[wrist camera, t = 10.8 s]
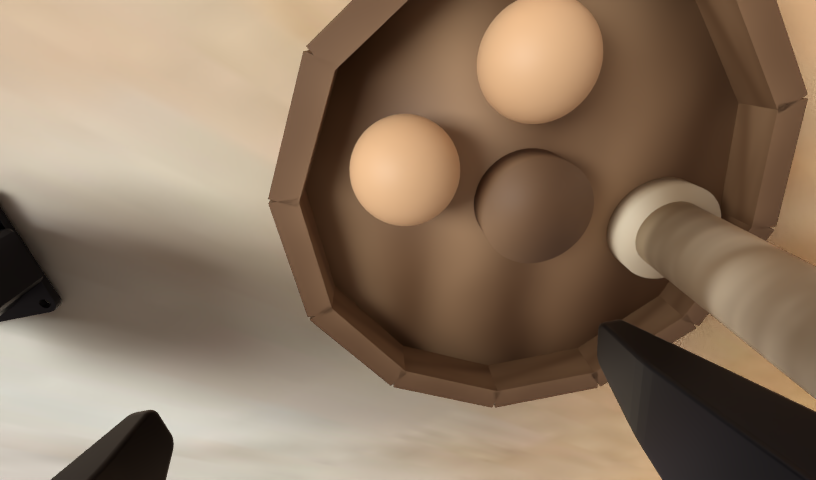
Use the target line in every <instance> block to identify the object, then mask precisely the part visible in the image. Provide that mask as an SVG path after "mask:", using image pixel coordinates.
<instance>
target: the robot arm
mask: <svg viewBox="0 0 816 480" xmlns="http://www.w3.org/2000/svg"><path fill="white" fill-rule="evenodd" d="M46 300H47V301H49V302H50V303H48V302H47V301H46ZM60 304H61V298H60V297H59V295H58V294H57V292H56V291H55V289H54V287H53V286H52V284H51V283H50V281H49V280H48V278H47V277H46V275H45V274H44V272H43V271H42V269H41V268H40V266H39V265H38V263H37V262H36V260H35V259H34V257H33V256H32V254H31V253H30V251H29V250H28V248H27V247H26V245H25V244H24V242H23V241H22V239H21V238H20V236H19V235H18V233H17V232H16V230H15V228H14V227H13V225H12V224H11V222H10V221H9V219H8V218H7V216H6V215H5V213H4V212H3V210H2V209H1V207H0V322H1V321H6V320H11V319H16V318H22V317H27V316H32V315H37V314H42V313H47V312H51V311H54V310H55V309H56V308H57V307H58V306H59V305H60ZM597 358H598V362H599V365H600V367H601V369H602V371H603V373H604V375H605V377H606V379H607V381H608V383H609V385H610V387H611V389H612V391H613V393H614V395H615V397H616V399H617V401H618V403H619V405H620V407H621V409H622V411H623V413H624V415H625V417H626V419H627V421H628V423H629V425H630V427H631V429H632V431H633V433H634V435H635V437H636V438H637V440H638V442H639V443H640V445H641V447H642V448H643V450H644V451H645V453H646V455H647V456H648V458H649V459H650V461H651V463H652V464H653V466H654V467H655V469H656V470H657V472H658V474H659V475H660V477H661V478H662V480H816V412H815V411H813V410H811V409H809V408H807V407H805V406H803V405H801V404H798V403H796V402H794V401H792V400H790V399H788V398H786V397H784V396H782V395H780V394H777V393H775V392H773V391H771V390H769V389H767V388H765V387H763V386H761V385H758V384H756V383H754V382H752V381H750V380H748V379H746V378H744V377H742V376H739V375H737V374H735V373H733V372H731V371H729V370H727V369H725V368H723V367H721V366H718V365H716V364H714V363H712V362H710V361H708V360H706V359H704V358H702V357H699V356H697V355H695V354H693V353H691V352H689V351H687V350H685V349H683V348H681V347H678V346H676V345H674V344H672V343H670V342H668V341H666V340H664V339H662V338H659V337H657V336H655V335H653V334H651V333H649V332H647V331H645V330H643V329H641V328H638V327H636V326H634V325H632V324H630V323H628V322H626V321H623V320H612V321H607V322H603V323H601V324H600V325H599V327H598V341H597ZM173 445H174V443H173V437H172V435H171V433H170V432H169V430H168V428H167V427H166V425H165V424H164V422H163V420H162V419H161V417H160V416H159V414H158V413H157V412H156V411H154V410H146V411H141V412H136V413H133V414H130V415H129V416H127V417H126V418H125V419H124V420H123V421H121V422H120V423H119V424H118V425H116V426H115V427H114V428H113V429H112V430H110V431H109V432H108V433H107V434H106V435H104V436H103V437H102V438H101V439H100V440H98V441H97V442H96V443H95V444H93V445H92V446H91V447H90V448H89V449H87V450H86V451H85V452H84V453H83V454H81V455H80V456H79V457H78V458H77V459H75V460H74V461H73V462H72V463H70V464H69V465H68V466H67V467H66V468H64V469H63V470H62V471H61V472H60V473H58V474H57V475H56V476H55V477H53V478H52V479H51V480H166V477H167V473H168V469H169V464H170V460H171V456H172V452H173Z"/></svg>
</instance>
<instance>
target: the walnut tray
mask: <svg viewBox="0 0 816 480" xmlns="http://www.w3.org/2000/svg"><path fill="white" fill-rule="evenodd" d="M515 1H516V0H352V1H351V2H350V3H349V4H348V5H347V6H346V7H345V8H344V9H343V10H342V11H341V12H340V13H339V14H338V15H337V16H336V17H335V18H334V19H333V20H332V21H331V22H330V23H329V24H328V25H327V26H326V27H325V28H324V29H323V30H322V31H321V32H320V33H319V34H318V35H317V36H316V37H315V38H314V39H313V40H312V41H311V42H310V43H309V44H308V45H307V46H306V47H307V48H308V49H309V50H308V51H303V55H302V60H301V64H300V68H299V72H298V76H297V80H296V85H295V89H294V93H293V97H292V101H291V106H290V110H289V114H288V118H287V122H286V126H285V131H284V135H283V139H282V143H281V147H280V152H279V156H278V160H277V164H276V168H275V173H274V177H273V181H272V185H271V189H270V193H269V198H268V199H270V202H269V203H268V204H269V207H270V209H271V212H272V215H273V218H274V221H275V224H276V227H277V230H278V232H279V235H280V238H281V241H282V244H283V247H284V250H285V253H286V256H287V258H288V261H289V264H290V267H291V270H292V273H293V276H294V279H295V281H296V284H297V287H298V290H299V293H300V296H301V299H302V302H303V304H304V307H305V310H306V313H307V316H308V317H311V318H310V320H311V321H312V322H313V323H314V324H315V325H317V326H318V327H319V328H320V329H322V330H323V331H324V332H325V333H326V334H328V335H329V336H330V337H331V338H333V339H334V340H335V341H336V342H338V343H339V344H340V345H341V346H342V347H344V348H345V349H346V350H347V351H349V352H350V353H351V354H352V355H354V356H355V357H356V358H357V359H358V360H360V361H361V362H362V363H363V364H365V365H366V366H367V367H368V368H370V369H371V370H372V371H373V372H374V373H376V374H377V375H378V376H379V377H381V378H382V379H383V380H384V381H386V382H387V383H388V384H389V385H390V386H391V385H392V384H394V387H396V388H400V389H405V390H410V391H415V392H420V393H424V394H429V395H434V396H439V397H444V398H449V399H453V400H458V401H463V402H468V403H473V404H477V405H482V406H487V407H493V405H495V407H500V406H506V405H511V404H516V403H521V402H526V401H531V400H536V399H542V398H547V397H552V396H557V395H562V394H567V393H572V392H577V391H583V390H588V389H593V388H597V383H598V384H599V385H600V386H602V385H604V384H605V383H607V382H608V381H607V379H606V377H605V375H604V373H603V371H602V369H601V367H600V365H599V362H598V358H597V341H598V327H599V325H600V324H601V323H603V322H607V321H612V320H623V321H626V322H628V323H630V324H632V325H634V326H636V327H638V328H641V329H643V330H645V331H647V332H649V333H651V334H653V335H655V336H657V337H659V338H662V339H664V340H666V341H668V342H670V343H673V342H674V341H676V340H678V339H679V338H681V337H682V336H684V335H686V334H687V333H689V332H691V331H692V330H694V329H696V327H695V326H694V324H695V325H700V324H701V323H702V321H703V320H704V319H705V317H706V316H707V315H708V314H709V313H708V312H707V311H706V310H705V309H703V308H702V307H701V306H700V305H698V304H697V303H696V302H695V301H693V300H692V299H691V298H690V297H688V296H687V295H686V294H685V293H684V292H682V291H681V290H680V289H679V288H677V287H676V286H675V285H674V284H672V283H671V282H670V281H669V280H667V279H666V278H657V279H651V278H644V277H640V276H638V275H636V274H634V273H632V272H631V271H630V270H629V269H628V268H626V267H625V266H624V265H623V264H622V263H621V262H620V261H619V260H617V259H616V258H615V257H614V256H613V254H612V253H611V251H610V249H609V247H608V243H607V227H608V223H609V220H610V218H611V215H612V213H613V212H614V210H615V208H616V207H617V205H618V204H619V203H620V202H621V200H622V199H623V198H624V197H625V196H626V195H627V194H628V193H630V192H631V191H632V190H634V189H635V188H637V187H638V186H640V185H642V184H644V183H646V182H648V181H651V180H654V179H658V178H664V177H675V178H680V179H683V180H686V181H688V182H690V183H693V184H695V185H697V186H699V187H701V188H703V189H705V190H707V191H709V192H710V193H711V194H712V195H713V196H714V197H715V198H716V200H717V202H718V204H719V206H720V210H721V218H722V219H724V220H726V221H728V222H730V223H732V224H733V225H735V226H737V227H739V228H741V229H743V230H745V231H747V232H749V233H751V234H753V235H755V236H757V237H759V238H761V239H763V240H765V241H766V240H767V238H768V237H769V236H770V235H771V233H772V232H773V231H774V230H773V229H771V228H769V227H774V226H776V225H777V221H778V217H779V213H780V209H781V205H782V200H783V196H784V192H785V188H786V184H787V180H788V176H789V172H790V168H791V164H792V160H793V156H794V152H795V148H796V144H797V140H798V136H799V132H800V128H801V124H802V120H803V116H804V112H805V108H806V104H807V100H808V99H806V98H803V97H804V96H806V95H807V91H806V88H805V85H804V82H803V79H802V76H801V73H800V70H799V67H798V64H797V61H796V58H795V55H794V52H793V49H792V46H791V43H790V40H789V37H788V34H787V31H786V28H785V25H784V22H783V19H782V16H781V13H780V10H779V7H778V4H777V1H776V0H577V1H579V2H580V3H581V4H583V5H584V6H585V7H586V8H587V9H588V10H589V11H590V13H591V14H592V15H593V16H594V18H595V20H596V21H597V23H598V26H599V28H600V31H601V35H602V40H603V62H602V67H601V71H600V74H599V77H598V79H597V81H596V83H595V85H594V87H593V88H592V90H591V92H590V93H589V94H588V96H587V97H586V98H585V99H584V100H583V102H582V103H581V104H580V105H579V106H577V107H576V108H575V109H574V110H572V111H571V112H570V113H568V114H566V115H565V116H563V117H561V118H559V119H556V120H554V121H551V122H547V123H541V124H524V123H519V122H515V121H512V120H510V119H508V118H506V117H504V116H502V115H501V114H499V113H498V112H497V111H496V110H495V109H494V108H493V107H492V106H491V105H490V104H489V103H488V102H487V100H486V98H485V97H484V95H483V93H482V90H481V88H480V85H479V81H478V76H477V55H478V50H479V46H480V43H481V40H482V38H483V36H484V34H485V32H486V30H487V28H488V27H489V25H490V24H491V22H492V21H493V20H494V19H495V17H496V16H497V15H498V14H499V13H500V12H501V11H502V10H503V9H505V8H506V7H507V6H508V5H510V4H511V3H513V2H515ZM396 114H413V115H418V116H422V117H425V118H427V119H429V120H431V121H433V122H434V123H436V124H437V125H439V126H440V127H441V128H442V129H443V130H444V131H445V132H446V133H447V134H448V135H449V137H450V138H451V140H452V141H453V143H454V145H455V147H456V150H457V153H458V156H459V161H460V180H459V184H458V187H457V190H456V193H455V195H454V197H453V199H452V200H451V202H450V203H449V205H448V206H447V207H446V208H445V209H444V210H443V211H442V212H441V213H440V214H439V215H437V216H436V217H434V218H433V219H431V220H429V221H427V222H424V223H422V224H418V225H413V226H396V225H392V224H388V223H385V222H383V221H381V220H379V219H377V218H375V217H374V216H373V215H371V214H370V213H369V212H368V211H367V210H365V208H364V207H363V206H362V205H361V204H360V202H359V201H358V199H357V197H356V195H355V193H354V191H353V188H352V185H351V180H350V170H349V167H350V159H351V155H352V152H353V149H354V147H355V144H356V143H357V141H358V139H359V138H360V136H361V135H362V134H363V132H364V131H365V130H366V129H367V128H368V127H370V126H371V125H372V124H374V123H375V122H377V121H379V120H380V119H383V118H385V117H388V116H391V115H396Z"/></svg>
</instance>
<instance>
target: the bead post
mask: <svg viewBox="0 0 816 480" xmlns="http://www.w3.org/2000/svg"><path fill="white" fill-rule="evenodd" d="M607 243H608V247H609V249H610V251H611V253H612V254H613V256H614V257H615V258H616V259H617V260H619V261H620V262H621V263H622V264H623V265H624V266H625V267H626V268H628V269H629V270H630V271H631V272H632V273H634V274H636V275H638V276H640V277H644V278H651V279H657V278H666V279H667V280H669V281H670V282H671V283H672V284H674V285H675V286H676V287H677V288H679V289H680V290H681V291H682V292H684V293H685V294H686V295H687V296H688V297H690V298H691V299H692V300H693V301H695V302H696V303H697V304H698V305H700V306H701V307H702V308H703V309H705V310H706V311H707V312H708V313H710V314H711V315H712V316H713V317H715V318H716V319H717V320H718V321H719V322H721V323H722V324H723V325H724V326H726V327H727V328H728V329H729V330H731V331H732V332H733V333H734V334H736V335H737V336H738V337H739V338H741V339H742V340H743V341H744V342H746V343H747V344H748V345H749V346H750V347H752V348H753V349H754V350H755V351H757V352H758V353H759V354H760V355H762V356H763V357H764V358H765V359H767V360H768V361H769V362H770V363H772V364H773V365H774V366H775V367H777V368H778V369H779V370H780V371H781V372H783V373H784V374H785V375H786V376H788V377H789V378H790V379H791V380H793V381H794V382H795V383H796V384H798V385H799V386H800V387H801V388H803V389H804V390H805V391H806V392H808V393H809V394H810V395H811V396H812V397H814V398H815V399H816V266H814V265H812V264H810V263H808V262H806V261H804V260H802V259H800V258H798V257H796V256H794V255H792V254H790V253H788V252H787V251H785V250H783V249H781V248H779V247H777V246H775V245H773V244H771V243H769V242H767V241H765V240H763V239H761V238H759V237H757V236H755V235H753V234H751V233H749V232H747V231H745V230H743V229H741V228H739V227H737V226H735V225H733V224H732V223H730V222H728V221H726V220H724V219H722V218H721V210H720V206H719V204H718V202H717V200H716V198H715V197H714V196H713V195H712V194H711V193H710V192H709V191H707V190H705V189H703V188H701V187H699V186H697V185H695V184H693V183H690V182H688V181H686V180H683V179H680V178H675V177H664V178H658V179H654V180H651V181H648V182H646V183H644V184H642V185H640V186H638V187H637V188H635V189H634V190H632V191H631V192H630V193H628V194H627V195H626V196H625V197H624V198H623V199H622V200H621V202H620V203H619V204H618V205H617V207H616V208H615V210H614V212H613V213H612V215H611V218H610V220H609V223H608V227H607Z"/></svg>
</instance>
